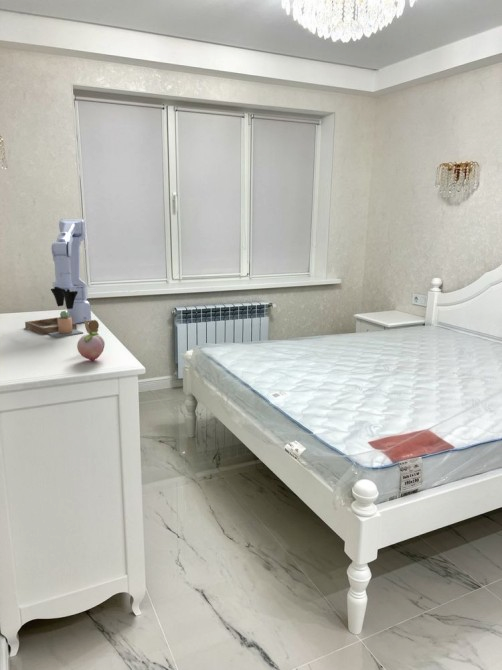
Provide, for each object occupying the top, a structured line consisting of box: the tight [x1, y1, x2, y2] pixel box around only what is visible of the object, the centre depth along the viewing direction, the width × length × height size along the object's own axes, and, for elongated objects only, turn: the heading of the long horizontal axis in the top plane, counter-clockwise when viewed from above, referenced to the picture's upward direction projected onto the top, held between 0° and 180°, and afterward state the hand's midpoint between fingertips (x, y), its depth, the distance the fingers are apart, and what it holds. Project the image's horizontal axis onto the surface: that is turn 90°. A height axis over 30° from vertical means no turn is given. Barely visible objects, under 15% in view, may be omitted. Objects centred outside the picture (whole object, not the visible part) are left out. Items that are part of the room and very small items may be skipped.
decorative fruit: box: [76, 331, 106, 362], centre depth 162 cm, size 9×8×10 cm
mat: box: [47, 329, 84, 339], centre depth 197 cm, size 11×7×1 cm, turn 137°
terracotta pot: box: [57, 310, 73, 334], centre depth 196 cm, size 5×5×9 cm
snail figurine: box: [83, 317, 100, 334], centre depth 176 cm, size 5×6×12 cm
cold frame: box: [24, 317, 78, 335], centre depth 205 cm, size 14×16×2 cm
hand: (65, 307), depth 197 cm, fingers open, 7 cm apart
